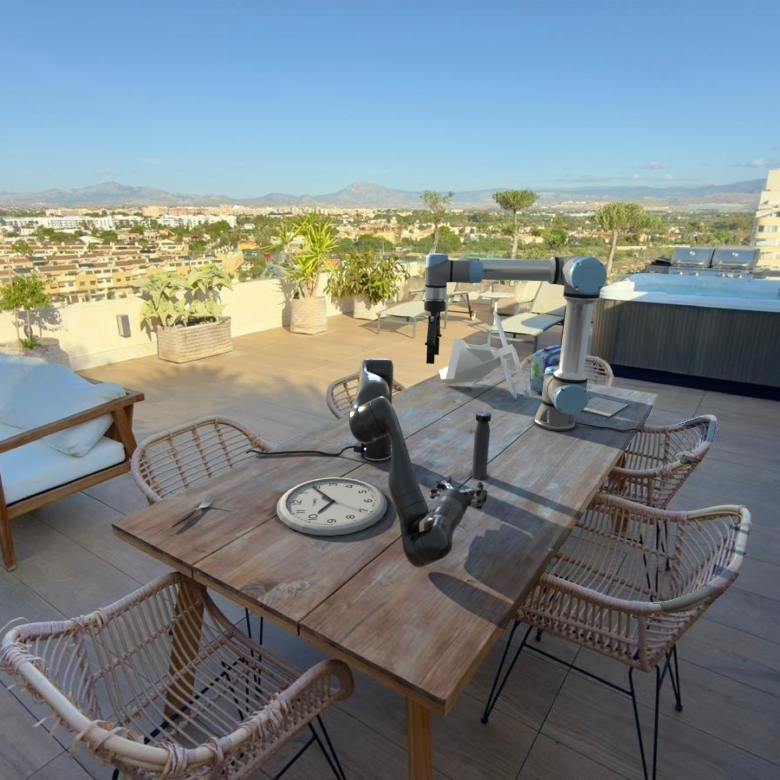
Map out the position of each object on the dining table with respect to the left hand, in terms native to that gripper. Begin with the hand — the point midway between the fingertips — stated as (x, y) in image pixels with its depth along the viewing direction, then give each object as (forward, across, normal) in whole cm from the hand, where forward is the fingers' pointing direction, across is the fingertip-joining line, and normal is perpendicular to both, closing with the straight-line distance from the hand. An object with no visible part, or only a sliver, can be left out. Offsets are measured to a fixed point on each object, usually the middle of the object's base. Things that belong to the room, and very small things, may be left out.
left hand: (465, 481), depth 144 cm
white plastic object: (+102, +19, +8) cm, 104 cm away
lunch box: (+120, -11, +8) cm, 121 cm away
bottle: (+18, 0, +6) cm, 19 cm away
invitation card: (+104, -34, +7) cm, 110 cm away
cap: (+18, 0, -14) cm, 23 cm away
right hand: (+47, +25, -21) cm, 57 cm away
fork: (-36, +64, +6) cm, 73 cm away
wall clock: (-17, +32, +6) cm, 37 cm away
